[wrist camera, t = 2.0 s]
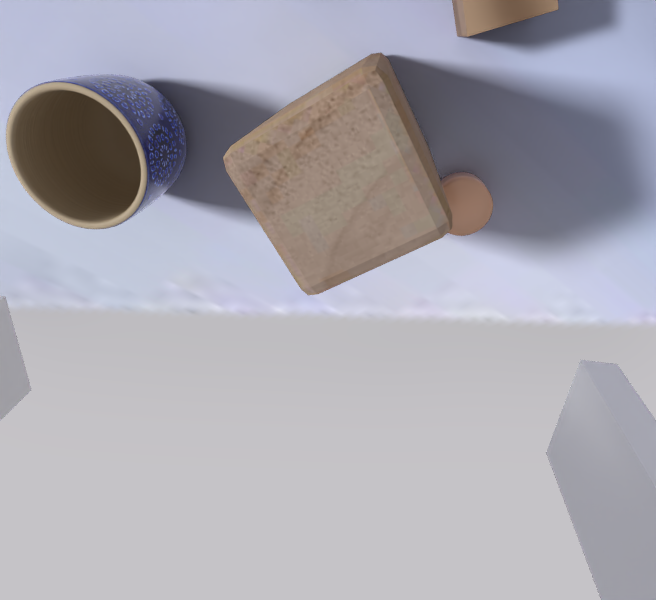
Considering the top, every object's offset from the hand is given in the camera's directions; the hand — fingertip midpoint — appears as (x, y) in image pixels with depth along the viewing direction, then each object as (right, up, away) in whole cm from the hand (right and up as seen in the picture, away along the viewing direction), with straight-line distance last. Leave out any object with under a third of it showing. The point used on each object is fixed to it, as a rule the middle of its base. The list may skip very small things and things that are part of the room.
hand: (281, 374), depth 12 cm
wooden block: (+4, +17, +33) cm, 37 cm away
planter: (-16, +17, +35) cm, 42 cm away
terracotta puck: (+13, +11, +35) cm, 39 cm away
